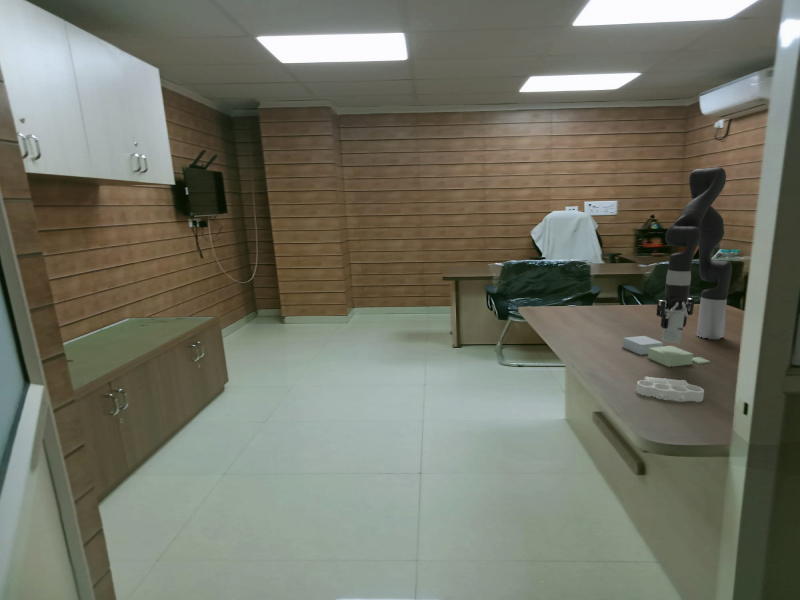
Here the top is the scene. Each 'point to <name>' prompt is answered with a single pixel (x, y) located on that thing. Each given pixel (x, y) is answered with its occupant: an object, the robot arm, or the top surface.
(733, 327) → the top surface
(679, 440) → the top surface
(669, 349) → the sage riser block
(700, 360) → the sage tile
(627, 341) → the blue-grey riser block
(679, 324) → the skincare box
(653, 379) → the white brass knuckles
